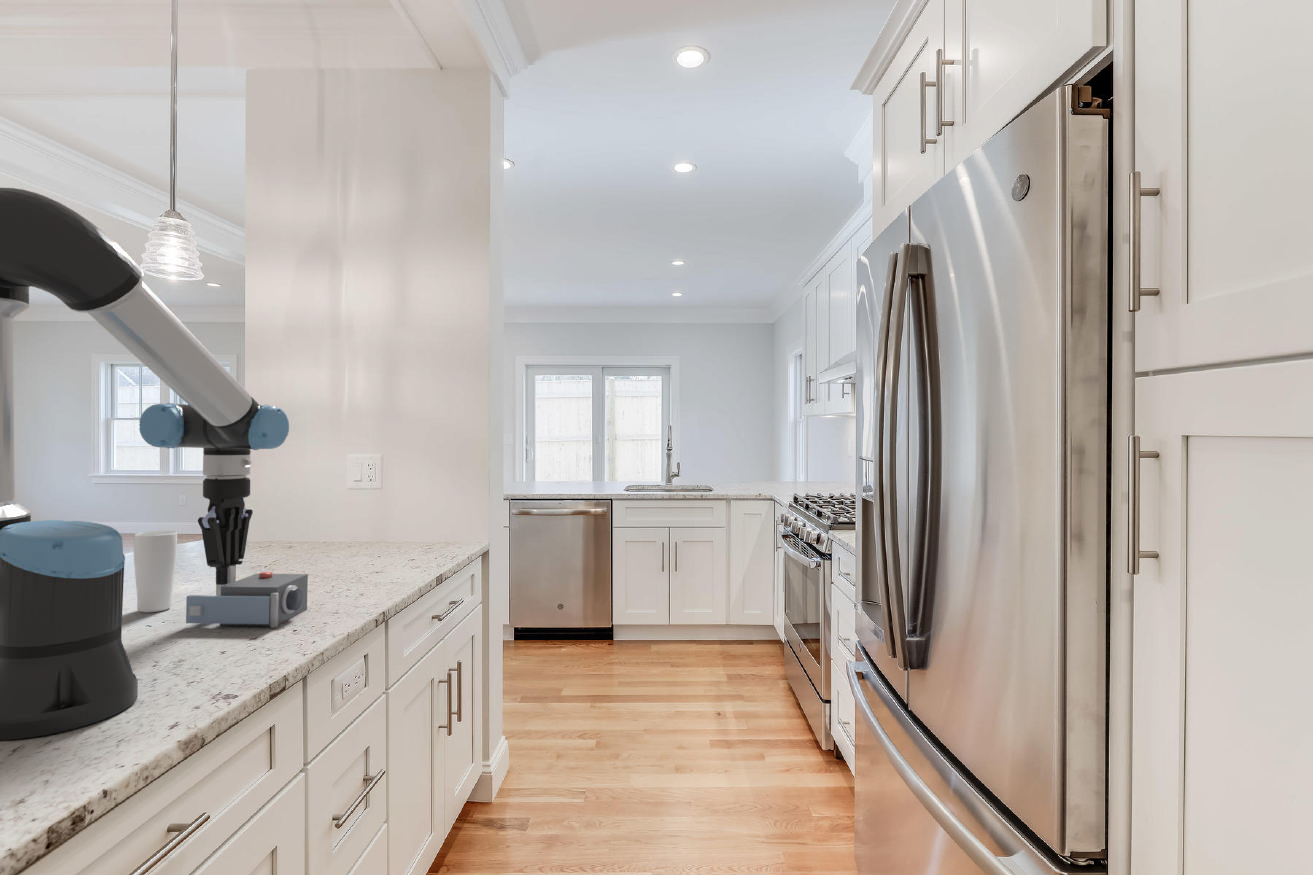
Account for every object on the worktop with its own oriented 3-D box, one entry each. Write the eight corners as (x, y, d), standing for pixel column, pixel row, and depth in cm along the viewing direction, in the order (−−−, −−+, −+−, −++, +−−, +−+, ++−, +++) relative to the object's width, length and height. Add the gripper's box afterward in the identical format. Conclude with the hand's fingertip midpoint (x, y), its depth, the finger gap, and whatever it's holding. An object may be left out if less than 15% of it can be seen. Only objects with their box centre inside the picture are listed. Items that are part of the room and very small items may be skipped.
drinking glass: (185, 605, 128) (186, 531, 128) (155, 615, 121) (156, 536, 121) (154, 604, 128) (155, 529, 128) (122, 613, 122) (124, 535, 122)
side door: (273, 628, 114) (274, 595, 114) (183, 627, 113) (183, 593, 113) (279, 625, 116) (279, 592, 116) (189, 624, 115) (190, 591, 115)
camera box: (283, 626, 116) (284, 583, 116) (218, 625, 115) (219, 582, 115) (315, 609, 127) (316, 570, 127) (255, 608, 127) (256, 569, 127)
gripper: (225, 480, 115) (223, 609, 116) (266, 474, 128) (265, 591, 129) (182, 479, 115) (181, 609, 115) (228, 474, 128) (227, 591, 128)
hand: (225, 599), depth 122 cm, fingers closed
